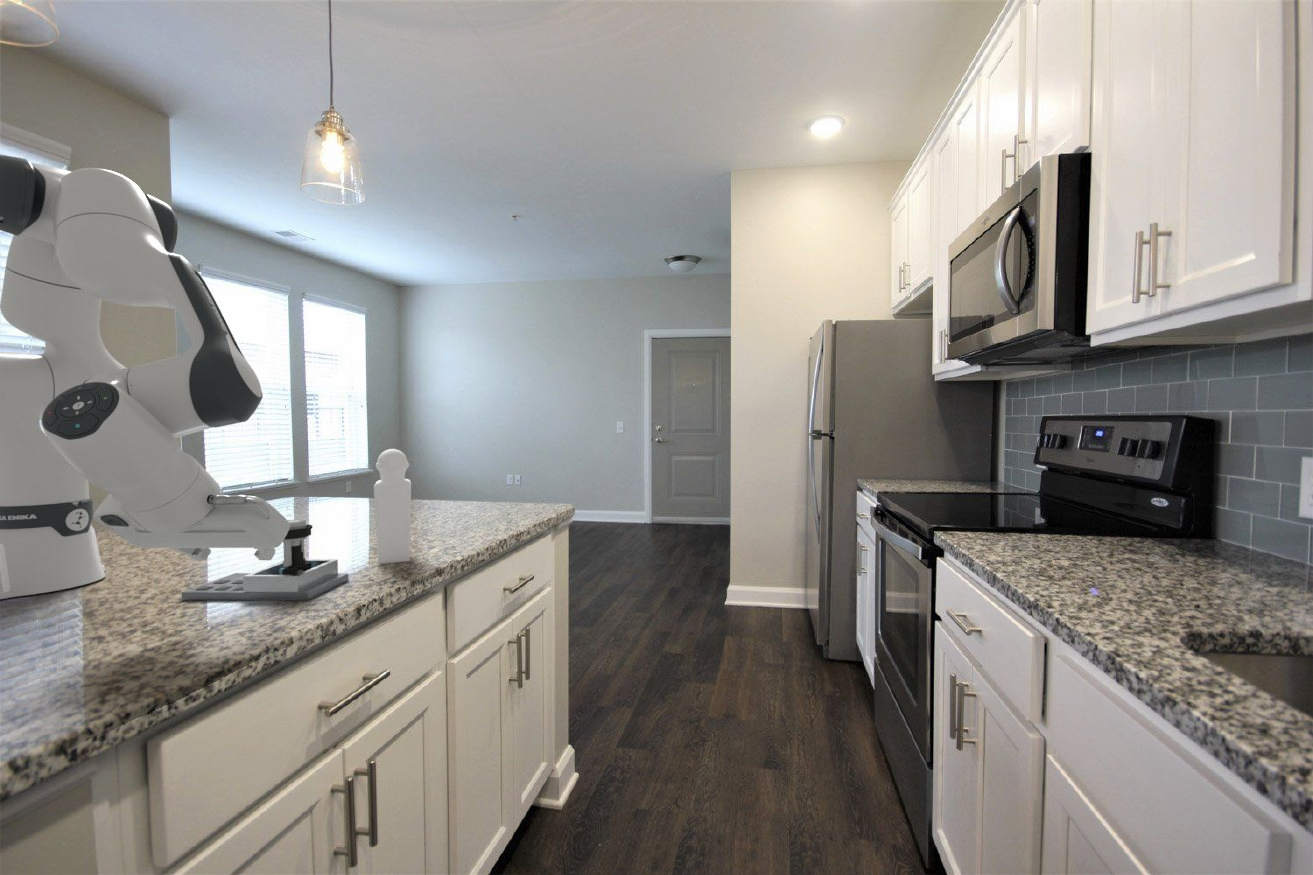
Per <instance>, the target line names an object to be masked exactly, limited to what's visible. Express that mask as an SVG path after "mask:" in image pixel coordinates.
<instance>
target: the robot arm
mask: <svg viewBox="0 0 1313 875" xmlns="http://www.w3.org/2000/svg"><path fill="white" fill-rule="evenodd" d="M142 190H143V189H141V188H140V187H139V186H138V185H137V184H136V183H135V182H134V181H132V180H131V179H129V178H128V177H126V176H124V175H123V174H120V173H118V172H115V171H112V170H109V169H105V168H97V167H83V168H78V169H74V170H73V171H70V170H66V169H63V168H59V167H54V166H49V165H45V164H41V163H40V164H39V163H34V162H29V160H28V159H26V158H22V157H17V156H11V155H3V154H0V231H1V232H5V233H8V234H10V235H13V236H12V239H11V241H10V244H9V248H8V252H7V255H6V256H7V257H6V262H5V270H4V275H3V276H4V277H3V281H2V282H3V283H2V288H1V290H2V291H1V298H0V313H1V314H2V316H3V318H4V319H5V320H6V321H7V323H8V324H10V325H11V326H12V327H13V328H15V329H17V330H19V331H21V332H22V333H24V334H27V335H29V336H31V337H33V338H35V339H38V340H40V341H42V342H44V343H45V344H44V346H45V348H44V351H43V353H37V354H32V353H19V352H4V351H0V600H4V599H9V598H16V597H22V596H23V597H24V596H30V595H31V596H32V595H37V594H38V595H39V594H45V593H50V592H56V591H63V590H66V589H71V588H75V587H79V586H84V585H89V584H91V583H94V582H97V581H99V580H102V579H104V578H105V577H106V573H105V571H106V566H105V564H102V562H101V555H100V550H99V546H98V540H97V536H96V534H97V533H96V530H95V528H94V527H93V526H92V521H93V519H94V521H96V522H97V523H99V524H100V525H102V526H108V528H109V529H110V530H111V531H112V532H114V533H115V534H116V535H117V536H119V537H120V538H121V539H123V540H124V541H126V542H127V543H128V544H130V545H132V546H136V547H138V548H143V549H171V550H172V551H176V552H178V553H180V554H183V555H184V556H185V555H186V556H188V557H189V558H191V559H192V560H193V561H207V560H208V558H209V556H210V555H211V553H212V550H211V549H231V548H232V549H234V548H235V549H238V548H239V549H246V548H247V549H255V552H254V554H253V556H255V558H257V559H258V561H272V560H273V558H274V557H275V556H274V555H275V554H276V548H279V547H280V546H281V544H282V543H283V540H284V538H285V537H286V535H287V533H288V531H289V528H290V523H289V522H288V519H287V518H286V517H285V516H284V515H283V514H282V513H280V512H279V510H278V509H276V508H275V507H274V506H273V505H271V504H270V503H269V502H267V500H264V499H262V498H260V497H258V496H252V495H243V494H235V495H229V494H228V495H226V494H221V486H220V485H219V483H218V482H217V481H216V480H215V478H214V477H212V475H211V474H210V473H209V472H208V471H207V470H206V469H205V468H204V466H202V464H200V462H199V461H198V460H197V459H196V458H195V457H194V456H192V455H191V454H189V453H187V452H185V451H183V449H181V447H180V445H179V442H178V438H181V437H184V436H188V435H192V434H194V433H195V434H196V433H198V432H202V431H205V430H208V429H212V428H220V427H226V426H231V425H235V424H240V423H244V422H247V421H248V420H249V419H250V418H251V417H252V416H253V414H254V413H255V412H256V410H257V409H258V407H259V405H261V401H262V400H263V391H262V387H261V383H260V380H259V378H258V376H257V374H256V372H255V371H254V369H253V368H252V366H251V365H250V364H249V362H248V361H247V359H246V357H245V356H244V354H243V352H242V351H241V349H240V347H239V346H238V344H237V341H236V340H235V337H234V335H233V333H232V331H231V329H230V327H229V325H228V323H227V321H226V320H225V317H224V315H223V312H222V311H221V309H220V307H219V305H218V303H217V301H216V299H215V298H214V296H213V294H212V292H211V290H210V288H209V287H208V285H207V283H206V281H205V280H204V279H203V277H202V275H201V274H200V273H199V272H198V270H197V269H196V268H195V267H194V265H192V263H191V262H190V260H187V259H186V258H185V257H184V256H183V255H182V254H176V253H173V251H174V249H175V247H176V245H177V243H178V238H179V226H178V219H177V215H176V213H175V212H174V210H173V209H172V207H171V206H170V205H169V204H168V203H166V202H164V201H162V200H160V199H158V198H157V197H155V196H152V195H150V194H147V193H146V192H143V191H142ZM102 301H106V302H109V303H112V304H117V305H121V306H128V307H139V308H140V307H144V308H145V307H148V308H150V307H151V308H152V307H153V308H154V307H155V308H166V309H173V310H176V312H177V313H178V316H179V317H180V319H181V321H182V323H183V325H184V328H185V330H186V332H187V334H188V337H189V338H190V341H191V342H192V345H191V346H190V348H188V349H187V350H186V351H184V352H182V353H179V354H178V355H175V356H171V357H167V358H164V359H163V358H162V359H160V360H155V361H152V362H147V363H143V364H139V365H133V366H129V367H126V366H125V365H123V364H121V363H120V362H119V361H118V360H116V359H115V358H114V356H112V354H110V352H109V350H107V348H106V346H105V344H104V342H103V339H102V336H101V332H100V319H101V318H100V317H101V310H102ZM40 421H41V422H40ZM90 483H91V484H92V485H93V486H94V487H96V488H98V489H101V490H104V491H105V492H107V493H108V495H106V497H105V499H104V500H103V501H102V502H101V504H99V506H98V508H97V509H96V511H95V512H94V510H95V505H94V502H93V499H92V498H91V497H90V487H89V486H90Z"/></svg>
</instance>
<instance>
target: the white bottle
mask: <svg viewBox="0 0 1313 875" xmlns="http://www.w3.org/2000/svg"><path fill="white" fill-rule="evenodd" d="M409 467H410V462H408V458H407V456H406V454H405V453H404V452H403V451H401V450H400V449H396V448H389V449H385V450H384V451H382V452H381V453H380V454H379V456H378V457H377V461H376V463H375V468H376V469H377V471H378V472H379V473H378V474H379V476H380V479H379V480H377V481H376V482H375V483H374V484H373V499H374V516H375V533H376V534H375V535H376V550H377V551H376V552H377V553H376V554H377V563H378V565H384V564H393V563H395V564H396V563H405V562H406V563H407V562H411V525H412V524H411V517H412V516H411V515H412V514H411V513H412V511H411V510H412V504H411V503H412V499H411V498H412V481H411V479H409V478H406V477H405V476H406V472H407V470H408V468H409Z"/></svg>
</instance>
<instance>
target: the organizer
mask: <svg viewBox="0 0 1313 875" xmlns="http://www.w3.org/2000/svg"><path fill="white" fill-rule="evenodd" d="M305 560H306V563H311V569H309V570H307V571H304V572H302V573H299V574H297V575H279V570H280V569H281V568H284V567H283V561H280V562H278V563H275V564H271V565H270V566H267V567H264V568H261V569H259V570H256V571H254V572H250V573H249V572H236V573H232V574H230V575H227V576H223V577H221V578H217V579H215V580H212V581H210V582H207V583H204V584H201V585H198V586H195V587H193V588H189V589H187V590H183V591H181V601H310V600H312V599H315V598H316V597H318V596H320V595H322V594H324V593H326V592H328V591H330V590H332V589H334V588H336V587H338V586H340V585H342V584H344V583H346V582H348V581H349V573H344V572H343V573H340V572H339V563H338V559H325V558H324V559H323V558H322V559H320V558H319V559H316V558H314V559H312V558H308V559H307V558H305Z"/></svg>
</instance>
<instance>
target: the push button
mask: <svg viewBox="0 0 1313 875" xmlns="http://www.w3.org/2000/svg"><path fill="white" fill-rule="evenodd" d="M287 520H288V519H287ZM288 522H289V523H290V528H289V531H288V533H287V535H286V537H285V538H284V540H283V542H282V543H283V561H282V562H283V567H284V568H281V569H280V570H279V575H297V574H299V573H302V572H304V571H307V570H309V569H311V563H306V560H305V559H306V558H305V540H306V539H307V538H308V537H309V536H311V535H312V529H313V524H308V523H307V520H306V519H304V518H303V519H298V518H297V519H289V520H288Z"/></svg>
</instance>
